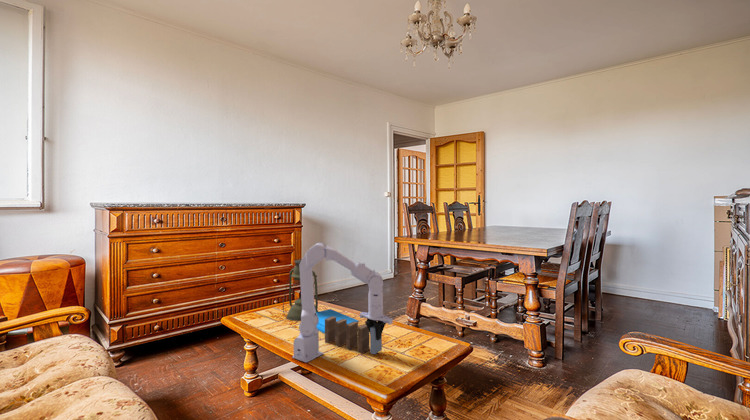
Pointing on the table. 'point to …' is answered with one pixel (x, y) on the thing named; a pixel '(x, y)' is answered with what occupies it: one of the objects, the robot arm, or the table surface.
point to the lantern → (297, 307)
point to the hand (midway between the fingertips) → (375, 338)
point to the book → (329, 313)
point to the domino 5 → (374, 342)
